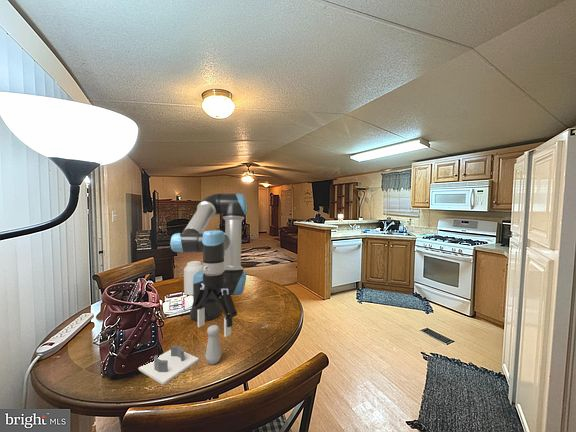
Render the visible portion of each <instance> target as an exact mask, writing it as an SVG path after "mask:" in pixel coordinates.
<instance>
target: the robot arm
mask: <svg viewBox="0 0 576 432" xmlns="http://www.w3.org/2000/svg"><path fill="white" fill-rule="evenodd" d="M247 205H248V204H247V199H246V196H245V194H244V193H236V192H235V193H212V194H210V195H208V196H205V198H203V199H201V201H199V203H198V204H197V207H196V212H195V213H194V214H193V216H192V217H191V219H190V220H189V221H188V224H187V225H186V227H185V228H184V229H183V231H182V233H181V232H177V233H174V234H173V235H171V238H170V243H169V244H170V250H171V251H172V252H174V253H182V254H183V253H202V265H203V270H202V271H199V272H197V273H196V274H194V277H193V295H192V300H193V302H192V306H191V309H190V311H189V318H190V320H191V321H195V322H197V328H200V327H203V326H204V325H205V323H206V322H207V321H212V320H215V319H216V318H218V317H219V316H220V315H221V310H222V312H223V314H224V316H225V317H223V334H224V335H223V336H224V338H227V337H229V336H230V335H231V334H232V326H233V318H235V317H237V316H238V312H237V309H236V307H235V303H234V301H233V298H232V296H240V295H242V294H243V293H244V291H245V287H246V286H245V285H246V282H247V281H246V280H247V272H246V271H244V267H243V266H242V265H241V263H242V261H241V260H242V221H243V220H245V216H246V215H248V206H247ZM215 215H216V216H217V215H219V216H220V215H222V219H223V220H224V221H225V223H224V224H225V226H224V228H225V230H224V231H225V232H224V231H223V230H221V229H220V230H219V229H218V230H215V229H214V230H212V229H211V230H206V228H207V226H208V224H209V222H210V220H211V218H213V217H215Z"/></svg>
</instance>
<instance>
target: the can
mask: <svg viewBox="0 0 576 432" xmlns="http://www.w3.org/2000/svg"><path fill="white" fill-rule="evenodd" d="M202 270H203V264H202V262H201V261H199V260H192V261H189V262H187V263H186V266H185V267H184V269H183V293H184V294H185V293H186V294H185V295H187V296H193V277H194V274H196V273H197V272H199V271H202Z"/></svg>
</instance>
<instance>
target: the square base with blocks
mask: <svg viewBox="0 0 576 432" xmlns="http://www.w3.org/2000/svg"><path fill="white" fill-rule="evenodd" d="M157 357H158V354H155V355H153V359H154V361H153V362H150V363H148V362H147V363H148V364H146V363H145V364H146V365H144V364H143V366H142V365H140V366H139V367H138V368H137V369H138V370H139V372H141V373H142V374H144V375H146V376H147V377H149V378H151V379H152V380H154V381H156V382H157V383H159V384H160V385H162V386H163V385H165V384H167V383H168V382H169V381H171V380H173V379H174V378H176V377H177V376H178V375H180V374H182V372H184V371H186V370H188V369H189V368H190V367H191V366H193V365H194V364H196V363H198V361H199V357H197V356H194V355H192V354H190V353H188V352H186V351H185V350H184V347H183V346H180V345H171V347H170V349H169V350H167V351H165V352H164V353H162V354H160V355H159V357H158V358H157Z"/></svg>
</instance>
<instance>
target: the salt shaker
mask: <svg viewBox="0 0 576 432" xmlns="http://www.w3.org/2000/svg"><path fill="white" fill-rule="evenodd" d="M206 331H207V332H206V333H207V335H208V338H207V344H206V351H205V356H204V357H205V360H206V362H207V364H209V365H211V366H212V365H213V366H214V365H216V364H218V363H219V362H220V360H221V357H222V348H221V343H220V337H219V333H220V326H219V325H217V324H213V325H210V326H209V327H207V329H206Z"/></svg>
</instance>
